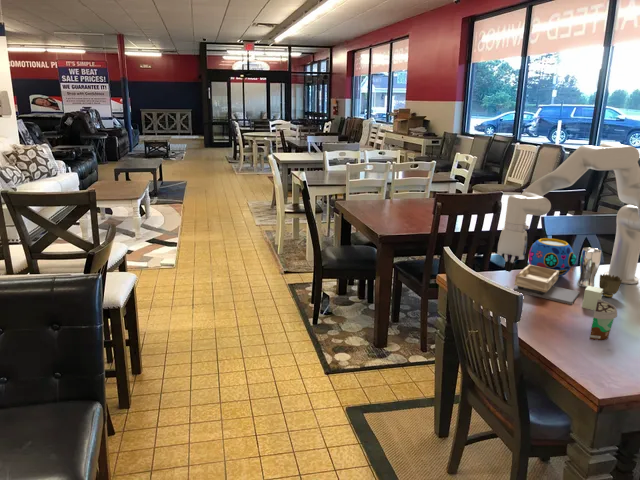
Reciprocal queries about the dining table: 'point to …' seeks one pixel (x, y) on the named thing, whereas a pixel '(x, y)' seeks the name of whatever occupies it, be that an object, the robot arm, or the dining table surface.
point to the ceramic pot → (552, 255)
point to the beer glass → (589, 266)
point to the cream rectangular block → (591, 297)
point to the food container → (602, 320)
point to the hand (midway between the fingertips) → (508, 270)
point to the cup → (609, 285)
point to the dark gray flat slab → (553, 294)
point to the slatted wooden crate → (536, 278)
